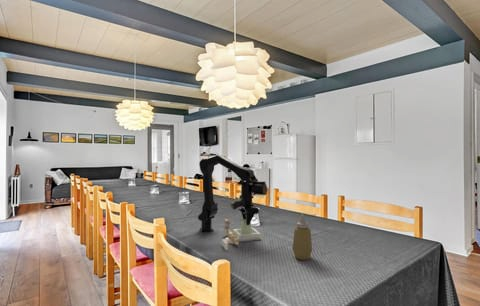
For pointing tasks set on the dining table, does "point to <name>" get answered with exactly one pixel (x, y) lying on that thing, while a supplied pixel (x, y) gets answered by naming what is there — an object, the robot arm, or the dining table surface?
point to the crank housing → (227, 242)
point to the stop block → (245, 227)
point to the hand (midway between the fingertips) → (246, 224)
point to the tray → (247, 235)
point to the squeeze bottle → (302, 240)
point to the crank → (230, 233)
